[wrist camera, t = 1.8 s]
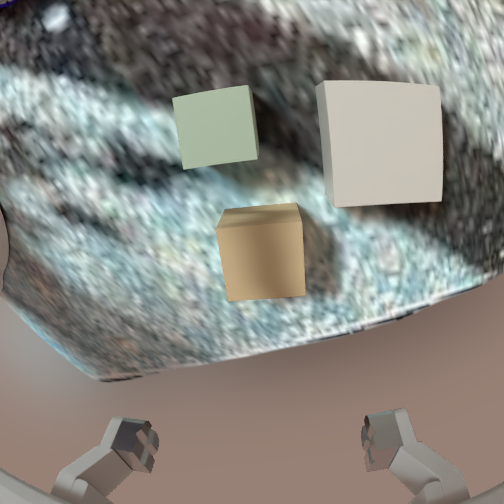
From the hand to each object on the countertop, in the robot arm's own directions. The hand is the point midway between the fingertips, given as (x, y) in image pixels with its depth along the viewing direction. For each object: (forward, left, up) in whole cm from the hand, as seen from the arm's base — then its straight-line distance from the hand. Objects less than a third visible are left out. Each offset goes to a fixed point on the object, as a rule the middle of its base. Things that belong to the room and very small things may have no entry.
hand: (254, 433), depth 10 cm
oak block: (0, 0, -19) cm, 19 cm away
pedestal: (+10, +8, -19) cm, 23 cm away
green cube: (-2, +10, -19) cm, 21 cm away
